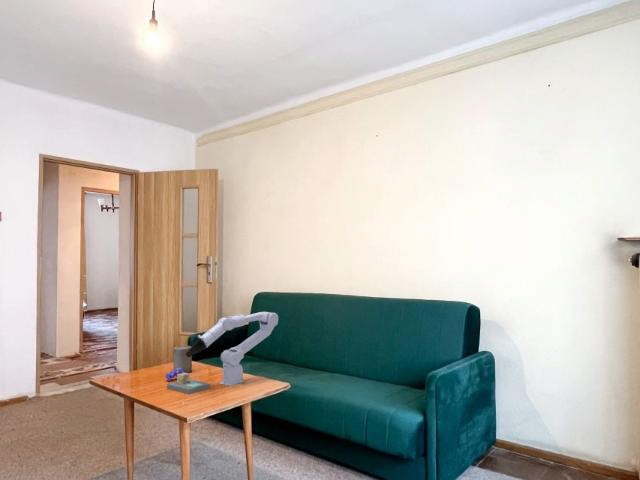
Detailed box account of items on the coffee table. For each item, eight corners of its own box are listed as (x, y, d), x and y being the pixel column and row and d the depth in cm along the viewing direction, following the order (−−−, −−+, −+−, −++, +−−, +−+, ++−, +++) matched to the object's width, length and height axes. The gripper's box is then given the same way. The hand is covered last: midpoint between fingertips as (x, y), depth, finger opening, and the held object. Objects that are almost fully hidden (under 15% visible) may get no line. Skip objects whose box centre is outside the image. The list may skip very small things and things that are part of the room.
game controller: (167, 377, 207) (160, 369, 215) (171, 392, 209) (164, 383, 217) (187, 368, 213) (179, 361, 221) (190, 382, 215) (183, 375, 223)
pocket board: (188, 383, 209) (188, 378, 209) (209, 389, 200) (209, 383, 200) (166, 389, 199) (167, 383, 200) (188, 395, 190) (188, 389, 190)
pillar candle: (193, 370, 238) (193, 343, 239) (189, 374, 228) (189, 346, 229) (175, 370, 237) (176, 343, 238) (170, 375, 227) (171, 346, 228)
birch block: (184, 385, 205) (184, 372, 205) (189, 386, 203) (189, 373, 203) (176, 387, 202) (177, 374, 202) (182, 388, 199) (182, 375, 200)
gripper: (202, 332, 210) (180, 350, 202) (209, 326, 198) (185, 345, 190) (211, 343, 210) (189, 361, 202) (219, 337, 198) (195, 357, 190)
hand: (188, 354), depth 196 cm, fingers open, 7 cm apart
